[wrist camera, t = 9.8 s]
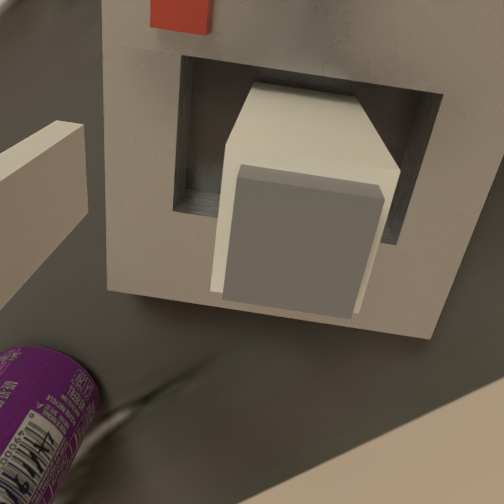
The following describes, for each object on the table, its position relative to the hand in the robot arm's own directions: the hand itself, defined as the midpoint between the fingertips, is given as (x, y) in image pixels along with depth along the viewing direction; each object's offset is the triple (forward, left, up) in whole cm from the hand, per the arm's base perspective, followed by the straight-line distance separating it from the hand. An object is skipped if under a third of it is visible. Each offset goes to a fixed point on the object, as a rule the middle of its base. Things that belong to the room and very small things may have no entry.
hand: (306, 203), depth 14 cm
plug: (+1, 0, -9) cm, 9 cm away
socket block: (+1, 0, -9) cm, 9 cm away
